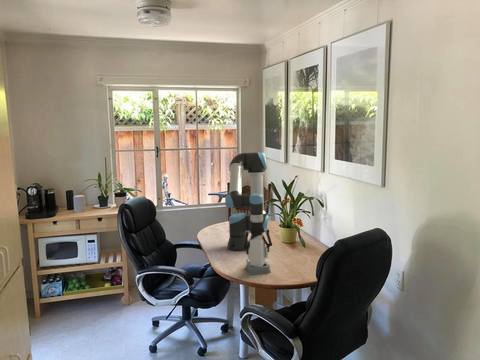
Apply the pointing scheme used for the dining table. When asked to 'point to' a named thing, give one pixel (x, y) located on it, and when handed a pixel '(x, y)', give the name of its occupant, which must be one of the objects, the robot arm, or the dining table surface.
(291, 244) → the dining table surface
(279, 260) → the dining table surface
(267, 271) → the seat block
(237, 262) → the dining table surface
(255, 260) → the milk carton
